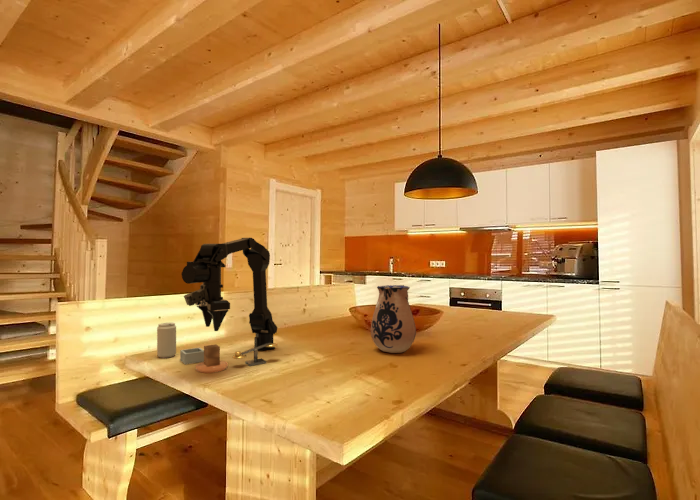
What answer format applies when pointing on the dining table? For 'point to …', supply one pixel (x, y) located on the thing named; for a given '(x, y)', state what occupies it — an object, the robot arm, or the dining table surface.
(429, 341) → the dining table surface
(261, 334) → the robot arm
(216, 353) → the block
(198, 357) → the collar
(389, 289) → the ceramic pitcher
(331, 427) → the dining table surface
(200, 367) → the dish
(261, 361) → the balance
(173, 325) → the beverage can
